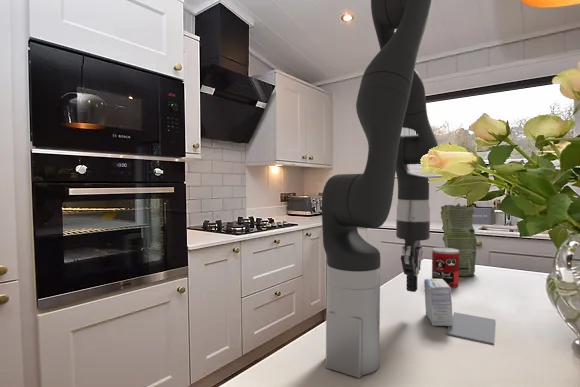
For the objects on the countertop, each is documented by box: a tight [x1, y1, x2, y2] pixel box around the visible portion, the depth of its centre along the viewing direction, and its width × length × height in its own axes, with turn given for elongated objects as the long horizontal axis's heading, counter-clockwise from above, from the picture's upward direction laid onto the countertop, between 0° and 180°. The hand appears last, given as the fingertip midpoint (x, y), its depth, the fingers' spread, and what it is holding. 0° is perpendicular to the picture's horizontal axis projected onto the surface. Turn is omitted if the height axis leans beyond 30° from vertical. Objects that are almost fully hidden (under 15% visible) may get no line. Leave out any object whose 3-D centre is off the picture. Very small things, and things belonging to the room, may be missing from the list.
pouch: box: [440, 202, 478, 277], centre depth 122 cm, size 11×12×25 cm
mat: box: [445, 311, 496, 346], centre depth 76 cm, size 14×9×1 cm, turn 148°
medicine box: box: [423, 278, 453, 327], centre depth 80 cm, size 8×4×9 cm, turn 168°
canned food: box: [431, 246, 460, 288], centre depth 109 cm, size 8×8×11 cm
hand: (411, 290), depth 83 cm, fingers closed
